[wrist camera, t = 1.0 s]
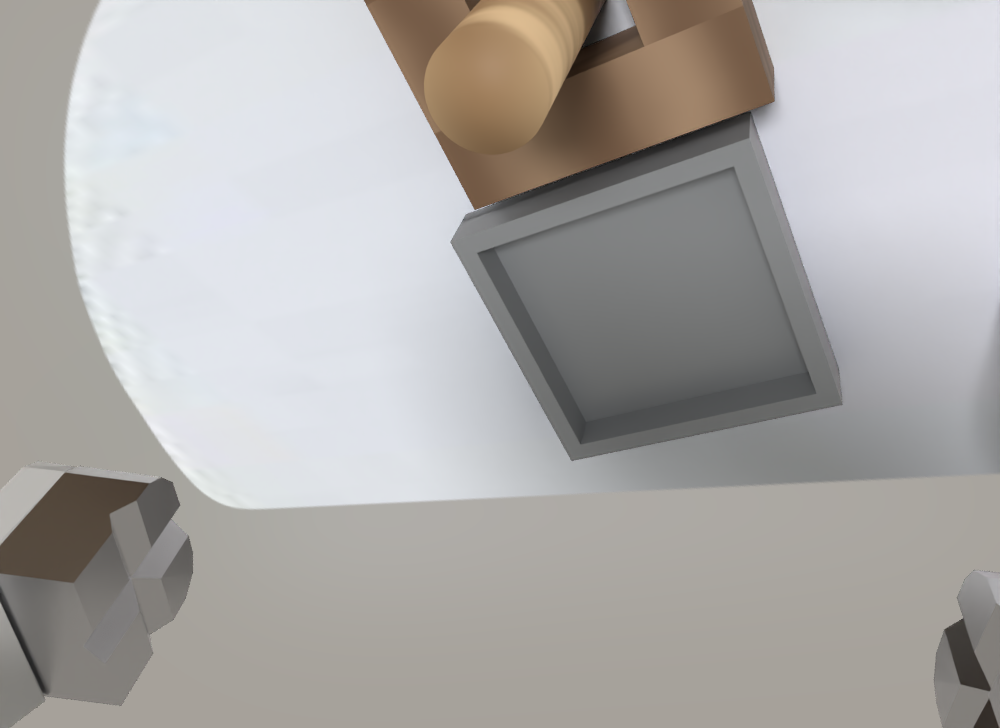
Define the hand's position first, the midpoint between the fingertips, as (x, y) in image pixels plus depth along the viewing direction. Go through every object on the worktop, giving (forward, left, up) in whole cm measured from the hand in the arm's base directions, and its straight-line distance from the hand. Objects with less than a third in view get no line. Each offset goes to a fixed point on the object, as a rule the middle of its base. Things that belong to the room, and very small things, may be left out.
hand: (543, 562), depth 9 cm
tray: (+8, +16, -34) cm, 39 cm away
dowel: (+6, 0, -34) cm, 35 cm away
